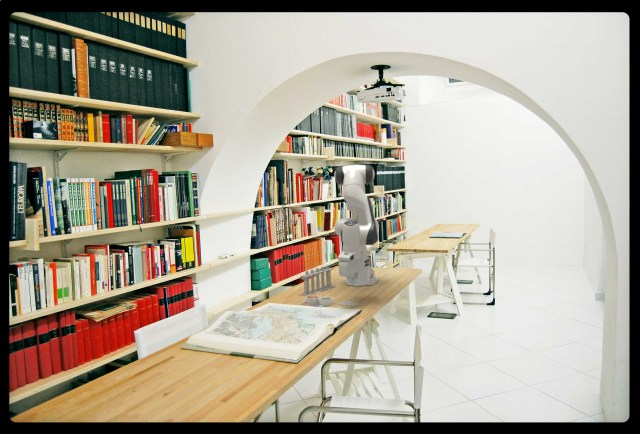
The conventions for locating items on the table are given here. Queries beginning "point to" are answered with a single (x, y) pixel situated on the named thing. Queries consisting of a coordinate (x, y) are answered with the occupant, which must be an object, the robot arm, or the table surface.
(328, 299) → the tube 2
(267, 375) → the table surface
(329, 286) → the test tube rack
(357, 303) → the grey mat
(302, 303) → the card
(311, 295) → the ball terracotta
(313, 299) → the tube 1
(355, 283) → the ball bluegrey
